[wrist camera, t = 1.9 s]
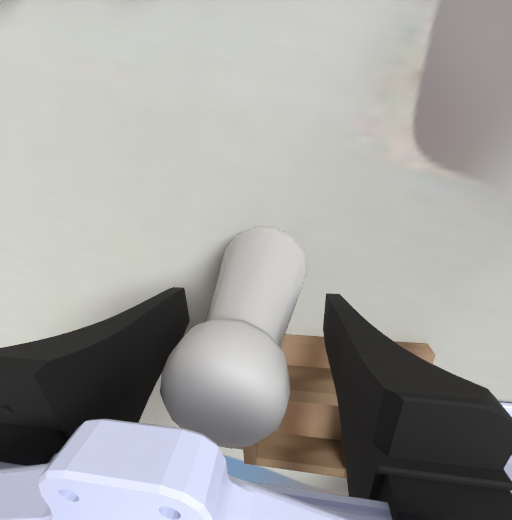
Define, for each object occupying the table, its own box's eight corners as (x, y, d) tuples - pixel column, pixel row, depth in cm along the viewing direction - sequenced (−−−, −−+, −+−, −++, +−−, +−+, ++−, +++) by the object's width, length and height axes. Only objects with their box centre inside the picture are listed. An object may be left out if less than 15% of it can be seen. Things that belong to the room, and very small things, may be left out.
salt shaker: (263, 201, 18) (187, 298, 6) (322, 252, 18) (362, 429, 7) (217, 258, 20) (97, 408, 8) (271, 300, 21) (234, 495, 9)
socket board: (427, 343, 20) (454, 381, 17) (394, 456, 26) (409, 501, 23) (194, 328, 23) (176, 358, 20) (210, 433, 29) (199, 470, 25)
